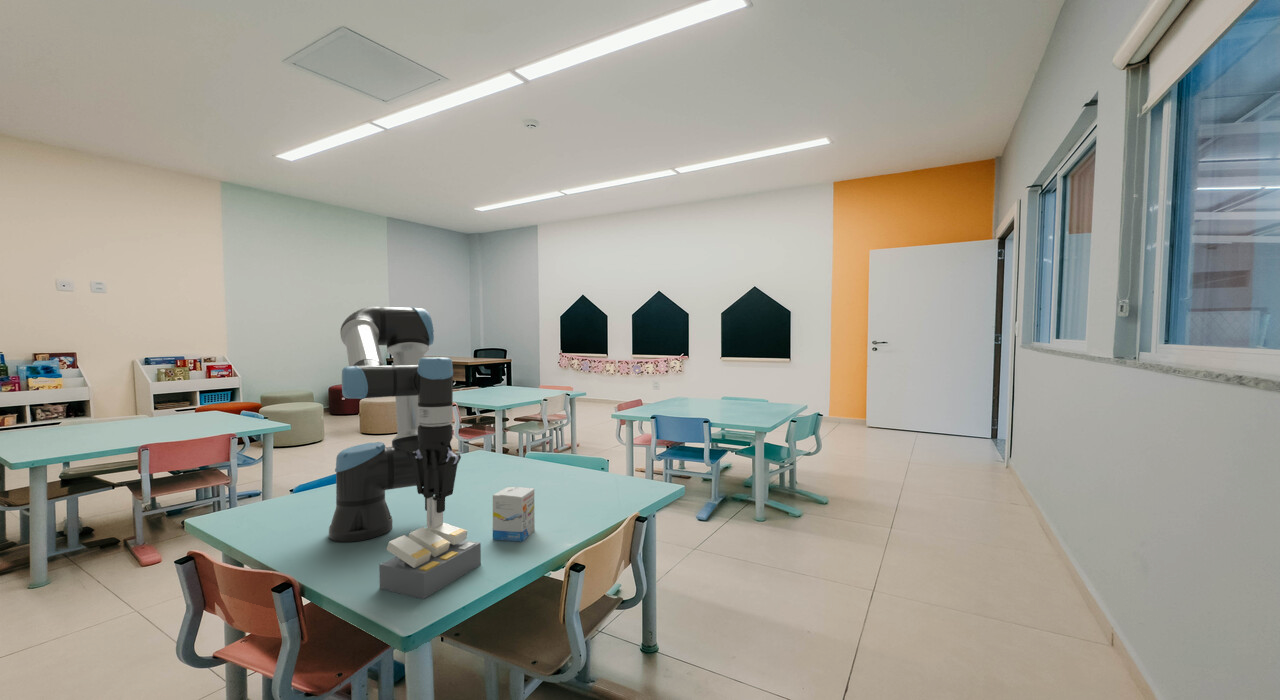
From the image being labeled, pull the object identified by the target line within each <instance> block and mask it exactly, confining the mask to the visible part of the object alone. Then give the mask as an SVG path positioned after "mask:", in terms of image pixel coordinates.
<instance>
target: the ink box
mask: <svg viewBox="0 0 1280 700" xmlns="http://www.w3.org/2000/svg"><path fill="white" fill-rule="evenodd" d="M535 523H536V521H535V488H534V487H532V488H531V487H521V486H520V487H518V486H513V487H511V486H510V487H509V486H507V487H505V488H503V489H501V490H500V491H497V492H495V493H493V494H492V540H497V541H508V542H509V541H511V542H523V541H525V539H527V538H528V537H529V536H530V535H531V534H532V533H533V532H534V531H535V530H536V529H535Z"/></svg>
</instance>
